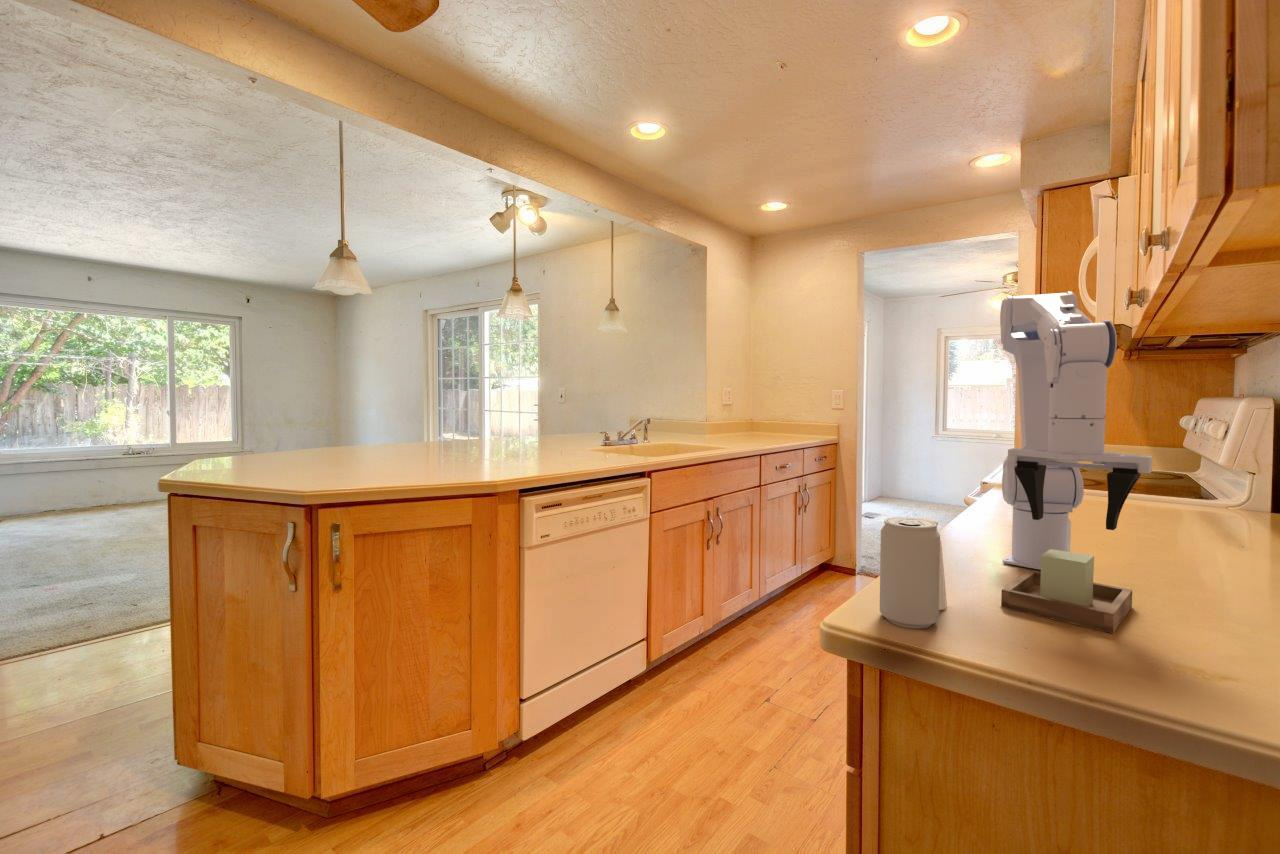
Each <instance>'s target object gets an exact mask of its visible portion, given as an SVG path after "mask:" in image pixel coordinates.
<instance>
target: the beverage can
mask: <svg viewBox="0 0 1280 854" xmlns="http://www.w3.org/2000/svg"><path fill="white" fill-rule="evenodd" d="M917 518H918V517H917ZM917 518H914V517H901V516H900V517H897V516H896V517H887V518H885V519H884V521H883V523H884V525H883V526H882V528H881V529H880V555H879V556H880V558H879V560H880V561H879V562H880V563H879V565H880V566H879V612H880V614H881V615H882V616H883V617H884V618H886V620H887V621H888V622H890V623H892V625H896V626H898V627H903V628H908V629H920V630H921V629H926V628H929V627H930V626H932V625H934V624H936V623H937V622H938V621H939V616H940V615H939V613H940V610H939V572H940V540H941V534H940V533H939V530H938V529H937V530H936V527H937V528H938V525H937V524H936V523H934V522H932V521H928V520H923V519H917Z"/></svg>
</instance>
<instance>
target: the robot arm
mask: <svg viewBox="0 0 1280 854" xmlns="http://www.w3.org/2000/svg"><path fill="white" fill-rule="evenodd" d="M999 323H1000V342H1001V344H1002V350H1003V351H1005V352H1008V353H1009V354H1011V355H1013V357H1014V360H1015V364H1016V368H1017V369H1016V370H1017V377H1018V379H1017V380H1018V398H1019V399H1018V400H1019V415H1020V434H1021V447H1020V448H1013V447H1012V448H1009V449H1007V456H1006V458H1005V460H1004V461H1003V463H1002V476H1001V492H1002V498H1003V500H1004V501H1005V502H1006V504H1007V505H1011V506H1012V528H1011V529H1012V530H1011V533H1012V534H1011V554H1010V555H1008V556H1007V557H1005V558H1003V559H1002V563H1004V564H1007V565H1013V566H1018V567H1023V568H1028V569H1035V570H1039V571H1041V555H1043V554H1044V553H1046V552H1047V551H1049V550H1050V549H1054V550H1060V551H1066V552H1071V540H1072V539H1071V538H1072V535H1071V534H1072V525H1071V524H1072V523H1071V519H1070V515H1069V514H1070V513H1073V509H1077V508H1078V507H1079V506H1080V505H1081V504H1082V503H1083V498H1084V491H1085V488H1084V487H1085V486H1084V479H1083V476H1082V475H1083V474H1081V471H1080V469H1093V470H1107V471H1110V472H1107V474H1106V479H1107V480H1106V483H1107V508H1106V509H1107V510H1106V516H1105V530H1109V531H1114V530H1116V529H1117V527H1118V522H1119V518H1120V515H1121V512H1122V509H1123V507H1124V504H1125V502H1126V500H1127V498H1128V496H1129V494H1130V492H1131V491H1132V489H1133V488H1134V487H1135V485H1136V483H1137V482H1138V480H1139V479H1140V477H1141V474H1151V473H1152V471H1153V456H1151V455H1138V454H1137V455H1136V454H1126V453H1114V452H1105V435H1106V415H1107V414H1106V412H1107V390H1108V389H1107V386H1108V368H1110V367H1111V366H1112V365H1113V363H1114V360H1115V358H1116V353H1117V347H1118V346H1117V343H1118V341H1117V339H1118V338H1117V331H1116V328H1115V326H1114V324H1113V322H1112V320H1103V321H1101V322H1094V321H1092V319H1090V318H1089V317H1088V316H1087V315H1086V314H1085V313H1084V312H1083V311H1082V310H1081V309H1079V301H1078V297H1077V295H1076V294H1075V293H1074V292H1073V291H1071V290H1069V291H1066V292H1059V293H1043V294H1042V293H1041V294H1031V295H1030V294H1027V295H1015V296H1012V295H1006V296H1005V297H1004V298H1003V299H1002V301H1001V305H1000V315H999ZM1079 462H1089V463H1079ZM1090 462H1091V463H1090Z"/></svg>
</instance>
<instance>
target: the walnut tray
mask: <svg viewBox="0 0 1280 854" xmlns="http://www.w3.org/2000/svg"><path fill="white" fill-rule="evenodd" d="M1040 582H1041V571H1034V570H1027V571H1026V572H1025V573H1023V574H1022V575H1020V576H1019V577H1017V578H1016V579H1015V580H1013V581H1012V582H1010V583H1009V584H1007V585H1006V586H1005V587H1003V588H1002V589H1001V595H1000V596H1001V599H1000V601H1001V603H1000V604H1001V605H1000V607H1001V608H1005V609H1008V610H1009V609H1010V610H1013V611H1017V612H1021V613H1025V614H1029V613H1030V614H1029V615H1034V614H1035V615H1034V616H1038V615H1039V616H1038V617H1042V616H1043V618H1046V617H1047V619H1051V620H1055V621H1059V622H1064V623H1068V624H1071V625H1076V626H1081V627H1083V628H1089V629H1093V630H1097V631H1102V632H1105V633H1110V634H1114V633H1115V631H1116V630H1117V628H1119V625H1120V624H1121V623H1122V622H1123V620H1124V619H1125V617H1126V616H1127V614H1128V613H1129V611H1130V610H1131V608H1132V607H1133V589H1131V588H1125V587H1120V586H1114V585H1110V584H1104V583H1098V582H1094V581H1093V603H1092V604H1091V605H1090V606H1089V607H1088V606H1083V605H1078V604H1074V603H1069V602H1064V601H1060V600H1055V599H1051V598H1046V597H1041V596H1040Z"/></svg>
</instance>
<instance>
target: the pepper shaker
mask: <svg viewBox="0 0 1280 854" xmlns="http://www.w3.org/2000/svg"><path fill="white" fill-rule="evenodd" d="M917 519H923V520H928V521H932V522H934V523H936V524H937V527H936V530H937V531H938V526H939V522H938V520H936V519H934V518H929V517H917ZM943 555H944V554H943V546H942V539H940V572H939V611H945V610H946V608H947V605H948V602H947V600H948V599H947V589H946V588H947V587H946V579H945V568H944V558H943V557H944V556H943Z"/></svg>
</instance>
